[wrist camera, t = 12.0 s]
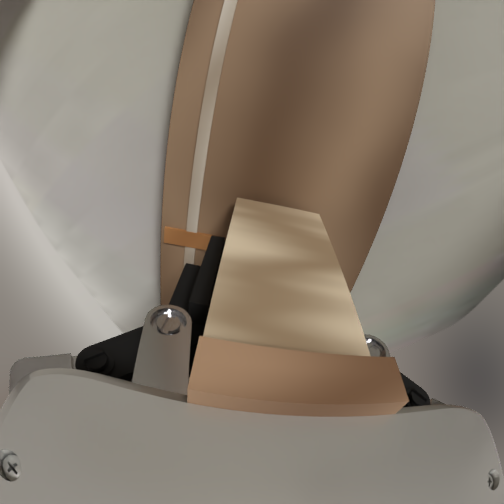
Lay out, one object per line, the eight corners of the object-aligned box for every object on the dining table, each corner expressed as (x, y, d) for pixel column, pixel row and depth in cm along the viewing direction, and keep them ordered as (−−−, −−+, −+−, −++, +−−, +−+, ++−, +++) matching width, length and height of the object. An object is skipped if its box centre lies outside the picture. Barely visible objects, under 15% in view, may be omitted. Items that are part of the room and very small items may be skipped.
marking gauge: (323, 199, 11) (423, 451, 3) (285, 312, 15) (294, 509, 6) (239, 181, 11) (173, 454, 3) (219, 301, 14) (184, 501, 6)
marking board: (423, -64, 4) (435, -73, 3) (314, 339, 18) (317, 358, 17) (245, -113, 4) (243, -128, 2) (167, 315, 18) (161, 333, 16)
